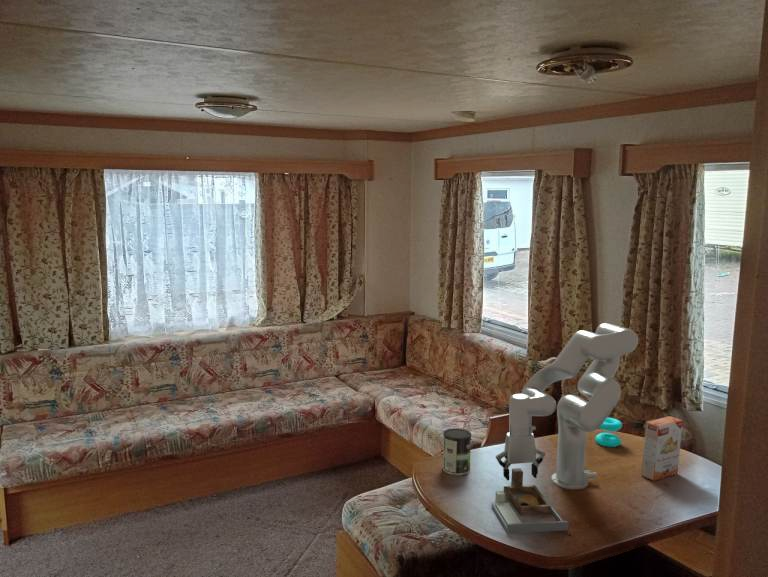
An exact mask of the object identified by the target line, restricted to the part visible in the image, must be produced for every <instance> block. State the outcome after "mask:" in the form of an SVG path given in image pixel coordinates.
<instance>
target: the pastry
mask: <svg viewBox="0 0 768 577" xmlns="http://www.w3.org/2000/svg"><path fill="white" fill-rule="evenodd" d="M516 501H517V502H518V504H519V505H520V506H529V505H540V503H539V501H538V498H537V497H535V496H534V495H533V494H523V495H521V496H520V497H519V498H518V499H517V500H516Z"/></svg>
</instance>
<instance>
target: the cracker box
mask: <svg viewBox="0 0 768 577" xmlns="http://www.w3.org/2000/svg"><path fill="white" fill-rule="evenodd" d="M683 422H684V420H682V419H680V418H677V417H674V416H671V415H670V416H664V417H660V418H657V419H653V420H648V421H646V422H645V431H644V441H643V454H642V463H641V475H642V477H644V478H646V479H648V478H649V479H648V480H650V479H651V481H652V480H653V482H656V481H658V479H659V480H662V479H664V478H663V477H665V478H667V477H666V476H668V477H670V476H669V475H671V476H673V475H672V474H674V473H677V472H678V470H679V462H680V452H681V444H682V443H681V442H682V433H683V425H684V424H683ZM677 474H678V473H677ZM641 475H640V476H641ZM661 478H662V479H661ZM655 480H656V481H655Z"/></svg>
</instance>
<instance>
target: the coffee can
mask: <svg viewBox="0 0 768 577" xmlns="http://www.w3.org/2000/svg"><path fill="white" fill-rule="evenodd" d="M442 436H443V440H442V441H443V442H442V443H443V446H442V470H443V472H444V473H446V474H448V475H453V476H464V475H468V474H469V473H470V471H471V448H472V445H471V444H472V433H471V432H470V431H469V430H466V429H464V428H449V429H445V430H444V431H443V432H442Z"/></svg>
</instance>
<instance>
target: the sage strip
mask: <svg viewBox="0 0 768 577" xmlns="http://www.w3.org/2000/svg"><path fill="white" fill-rule="evenodd" d="M505 501H506V497H505V493H504V492H503V490H495V499H494V505H495V506H496V508H497V509H498V511H499V513H500V514H501V516H502V518H503V519H504V521H505V523H506V524H511V523H522V522H521V521H520V519H519V518H518V516H517V515H516V513H515V512H514V510H513V509H512V507H511V506H510V504H509V502H505Z"/></svg>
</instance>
